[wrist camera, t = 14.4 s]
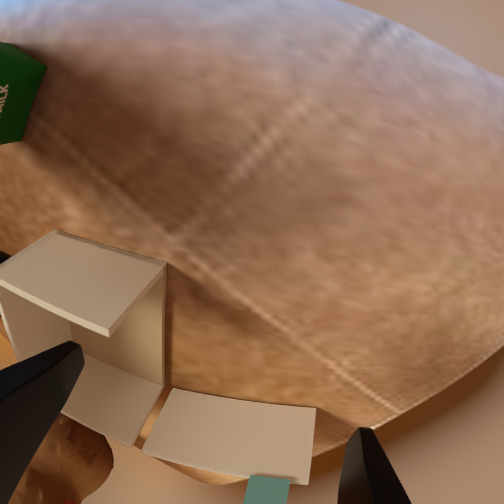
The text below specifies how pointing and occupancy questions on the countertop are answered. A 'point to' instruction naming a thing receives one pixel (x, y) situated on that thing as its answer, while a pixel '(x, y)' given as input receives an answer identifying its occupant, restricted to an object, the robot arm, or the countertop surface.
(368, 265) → the countertop surface
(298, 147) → the countertop surface
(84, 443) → the butternut squash
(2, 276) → the carton
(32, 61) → the milk carton
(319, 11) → the countertop surface
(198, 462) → the carton flap
